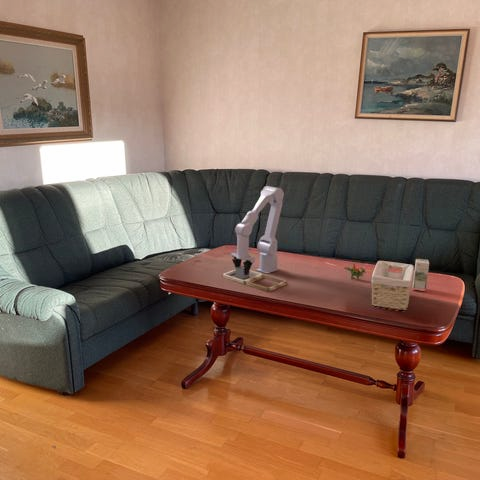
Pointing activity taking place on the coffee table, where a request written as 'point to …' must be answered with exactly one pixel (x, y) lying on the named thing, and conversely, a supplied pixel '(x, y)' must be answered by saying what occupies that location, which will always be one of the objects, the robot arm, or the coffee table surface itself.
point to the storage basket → (391, 285)
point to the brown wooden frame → (282, 282)
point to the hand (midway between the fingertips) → (242, 273)
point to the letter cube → (241, 272)
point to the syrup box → (420, 274)
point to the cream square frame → (226, 275)
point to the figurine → (355, 271)
